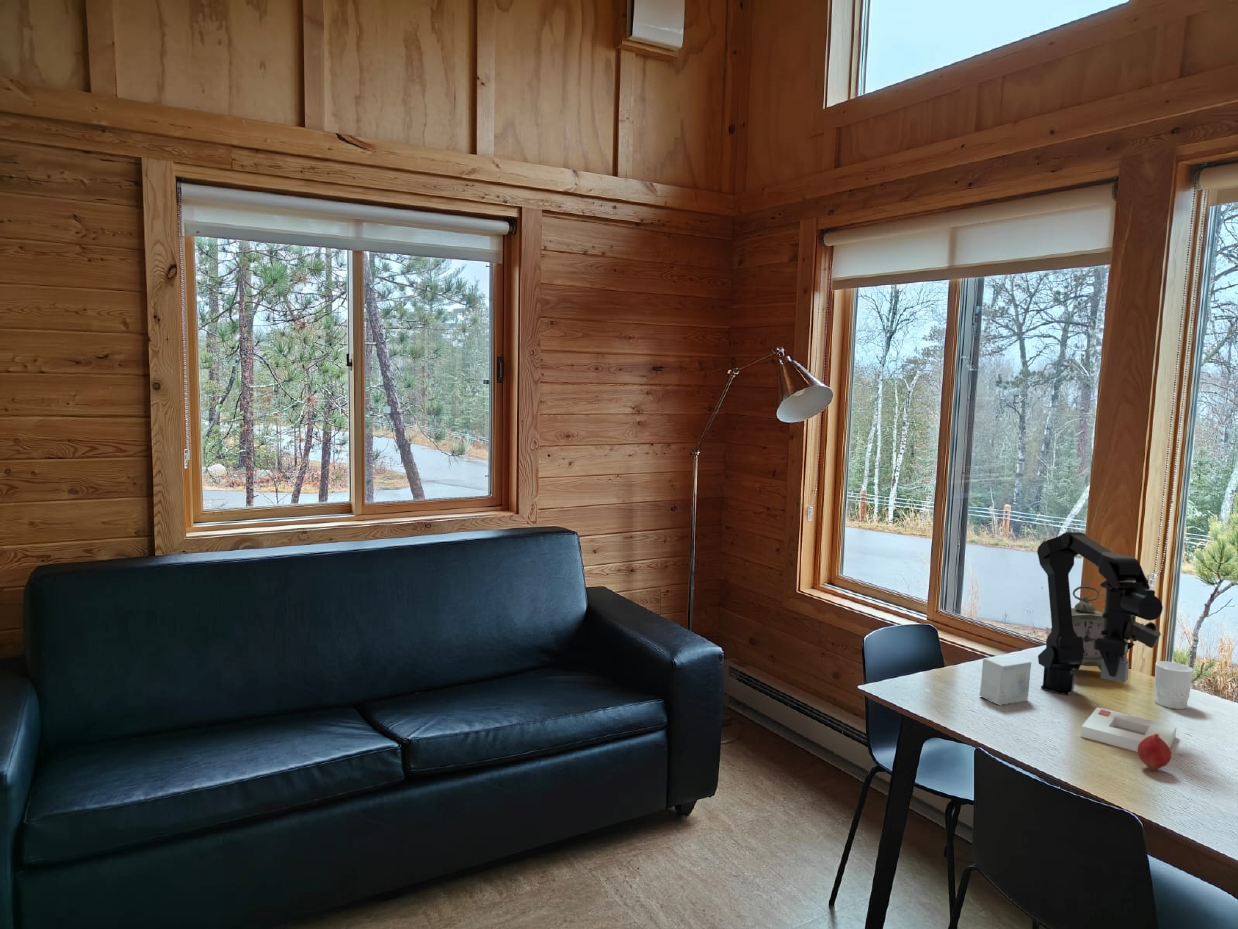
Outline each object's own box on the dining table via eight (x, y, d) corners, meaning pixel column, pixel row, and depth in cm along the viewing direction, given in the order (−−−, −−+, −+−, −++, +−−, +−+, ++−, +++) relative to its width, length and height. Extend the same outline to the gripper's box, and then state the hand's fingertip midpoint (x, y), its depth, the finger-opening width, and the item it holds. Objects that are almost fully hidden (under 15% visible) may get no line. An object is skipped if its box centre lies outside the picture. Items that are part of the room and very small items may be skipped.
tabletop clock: (1058, 676, 226) (1065, 588, 224) (1045, 665, 235) (1052, 580, 233) (1113, 680, 224) (1121, 591, 222) (1099, 669, 233) (1106, 583, 231)
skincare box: (999, 706, 202) (1002, 665, 201) (978, 697, 208) (981, 657, 207) (1029, 701, 206) (1032, 661, 206) (1008, 692, 212) (1010, 653, 211)
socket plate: (1080, 736, 185) (1081, 724, 185) (1096, 717, 197) (1097, 706, 197) (1164, 759, 175) (1165, 746, 174) (1175, 737, 187) (1176, 725, 186)
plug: (1100, 678, 194) (1101, 657, 194) (1103, 674, 197) (1105, 654, 197) (1124, 683, 191) (1126, 662, 190) (1127, 679, 194) (1129, 658, 193)
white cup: (1195, 711, 202) (1199, 673, 202) (1160, 708, 204) (1164, 670, 203) (1180, 700, 210) (1184, 662, 209) (1146, 697, 212) (1150, 660, 211)
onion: (1129, 763, 172) (1132, 727, 171) (1155, 763, 172) (1158, 727, 172) (1149, 776, 166) (1153, 738, 165) (1176, 776, 167) (1179, 738, 166)
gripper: (1152, 623, 180) (1147, 692, 181) (1164, 609, 194) (1160, 673, 195) (1095, 614, 188) (1091, 680, 189) (1111, 601, 202) (1107, 663, 203)
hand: (1114, 674), depth 194 cm, fingers closed on plug, 4 cm apart
